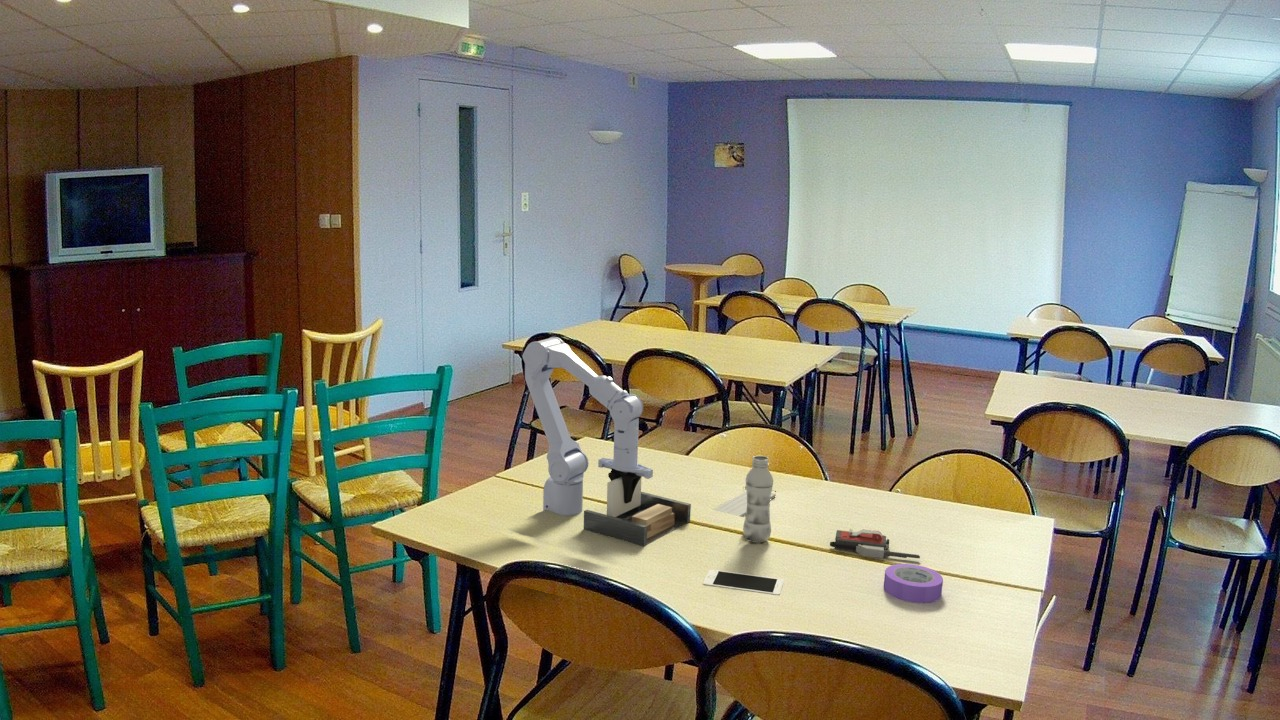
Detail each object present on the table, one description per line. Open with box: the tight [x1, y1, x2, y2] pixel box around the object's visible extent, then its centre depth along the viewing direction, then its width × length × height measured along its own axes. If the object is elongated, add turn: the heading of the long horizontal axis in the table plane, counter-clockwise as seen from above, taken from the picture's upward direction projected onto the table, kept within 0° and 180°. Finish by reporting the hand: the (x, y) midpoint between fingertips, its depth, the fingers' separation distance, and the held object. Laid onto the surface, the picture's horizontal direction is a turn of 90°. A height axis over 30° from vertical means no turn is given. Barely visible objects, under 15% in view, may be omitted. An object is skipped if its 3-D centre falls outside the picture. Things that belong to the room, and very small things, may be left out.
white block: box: [606, 477, 642, 517], centre depth 235 cm, size 2×12×8 cm, turn 146°
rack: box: [583, 491, 692, 547], centre depth 234 cm, size 17×20×6 cm
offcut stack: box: [632, 504, 674, 538], centre depth 232 cm, size 4×12×4 cm, turn 146°
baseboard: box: [712, 485, 777, 518], centre depth 251 cm, size 30×3×10 cm
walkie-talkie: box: [829, 528, 921, 559], centre depth 226 cm, size 9×4×20 cm
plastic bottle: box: [742, 455, 774, 543], centre depth 229 cm, size 6×7×20 cm
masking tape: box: [883, 563, 944, 604], centre depth 205 cm, size 12×12×4 cm
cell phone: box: [702, 569, 785, 596], centre depth 207 cm, size 8×16×1 cm, turn 75°
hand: (624, 501), depth 236 cm, fingers closed on white block
